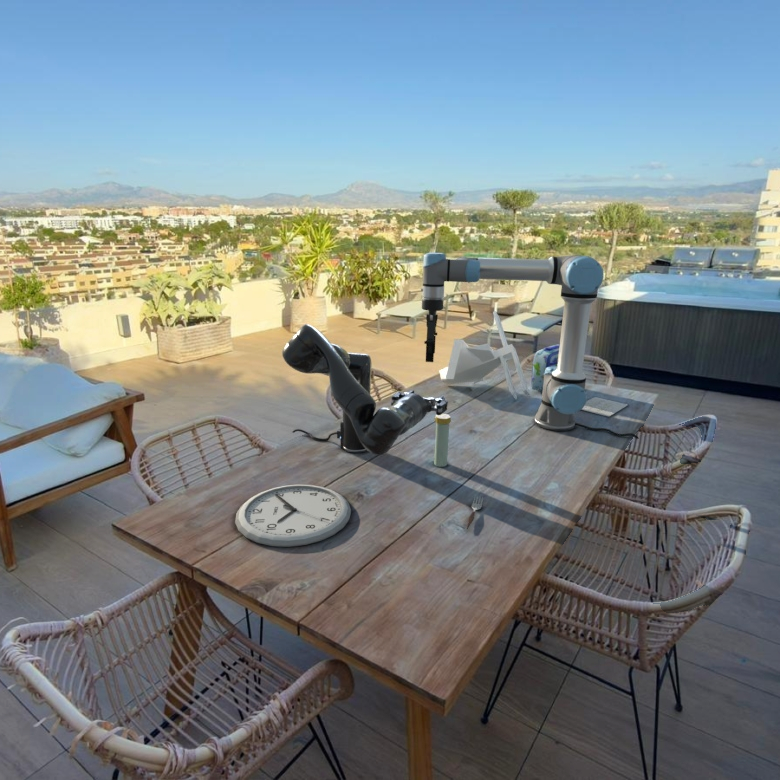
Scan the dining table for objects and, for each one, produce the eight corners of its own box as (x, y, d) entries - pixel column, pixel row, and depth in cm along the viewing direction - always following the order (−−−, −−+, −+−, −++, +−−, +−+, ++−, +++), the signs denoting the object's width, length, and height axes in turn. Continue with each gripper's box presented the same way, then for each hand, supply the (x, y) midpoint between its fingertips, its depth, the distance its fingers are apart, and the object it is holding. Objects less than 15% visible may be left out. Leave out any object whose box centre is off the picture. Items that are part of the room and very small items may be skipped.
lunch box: (547, 397, 237) (552, 352, 231) (526, 391, 245) (531, 348, 238) (574, 386, 255) (580, 344, 249) (554, 381, 262) (559, 340, 256)
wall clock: (351, 538, 125) (223, 542, 122) (351, 544, 125) (223, 548, 123) (350, 480, 153) (246, 482, 151) (350, 485, 154) (246, 487, 151)
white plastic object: (461, 429, 252) (437, 405, 227) (444, 352, 274) (420, 323, 250) (535, 404, 240) (518, 377, 215) (510, 326, 262) (492, 293, 237)
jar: (431, 462, 170) (433, 416, 165) (442, 460, 172) (444, 414, 167) (438, 467, 166) (440, 420, 161) (449, 465, 168) (452, 418, 163)
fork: (461, 529, 132) (462, 523, 131) (474, 500, 146) (474, 494, 146) (471, 532, 131) (472, 525, 130) (483, 502, 145) (483, 495, 145)
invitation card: (608, 416, 214) (573, 407, 224) (608, 416, 214) (573, 408, 224) (628, 404, 229) (594, 396, 238) (628, 405, 229) (594, 397, 238)
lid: (432, 420, 166) (432, 414, 165) (444, 418, 168) (445, 412, 167) (440, 425, 161) (440, 419, 161) (453, 423, 164) (453, 417, 163)
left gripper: (380, 420, 133) (402, 404, 148) (433, 431, 129) (450, 414, 143) (382, 392, 131) (404, 379, 146) (436, 402, 127) (453, 387, 141)
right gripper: (424, 293, 195) (422, 349, 202) (419, 302, 172) (417, 365, 178) (444, 294, 195) (441, 350, 201) (442, 303, 171) (439, 366, 177)
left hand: (427, 396), depth 145 cm, fingers open, 8 cm apart
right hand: (430, 357), depth 190 cm, fingers open, 13 cm apart
